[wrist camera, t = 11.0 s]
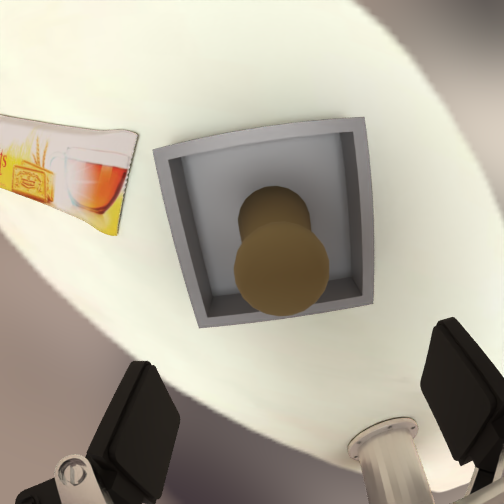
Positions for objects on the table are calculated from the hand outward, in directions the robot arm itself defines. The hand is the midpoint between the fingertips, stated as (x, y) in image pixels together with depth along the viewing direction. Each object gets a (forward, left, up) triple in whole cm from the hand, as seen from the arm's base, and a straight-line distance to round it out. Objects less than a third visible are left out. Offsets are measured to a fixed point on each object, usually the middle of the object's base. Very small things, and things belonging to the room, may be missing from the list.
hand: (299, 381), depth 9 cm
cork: (0, 0, -18) cm, 18 cm away
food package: (+12, +24, -19) cm, 33 cm away
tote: (0, 0, -18) cm, 18 cm away
